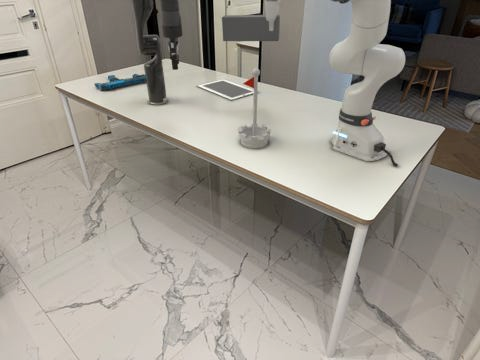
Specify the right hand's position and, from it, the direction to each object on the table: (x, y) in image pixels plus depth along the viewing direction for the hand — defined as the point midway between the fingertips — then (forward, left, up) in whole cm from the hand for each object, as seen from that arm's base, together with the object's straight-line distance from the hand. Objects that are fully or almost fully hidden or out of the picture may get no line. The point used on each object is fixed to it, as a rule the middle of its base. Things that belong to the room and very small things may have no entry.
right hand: (272, 29), depth 147 cm
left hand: (+9, +43, -11) cm, 45 cm away
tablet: (+41, -3, -38) cm, 56 cm away
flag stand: (-22, +26, -38) cm, 51 cm away
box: (+7, +6, -5) cm, 10 cm away
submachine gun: (+90, +41, -38) cm, 106 cm away
